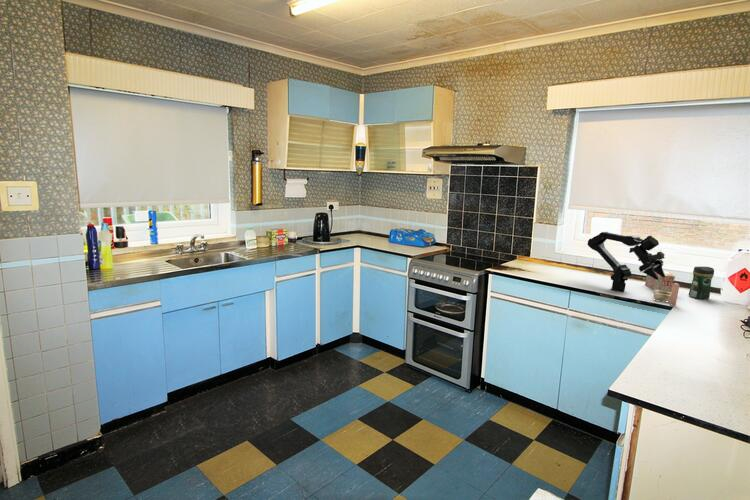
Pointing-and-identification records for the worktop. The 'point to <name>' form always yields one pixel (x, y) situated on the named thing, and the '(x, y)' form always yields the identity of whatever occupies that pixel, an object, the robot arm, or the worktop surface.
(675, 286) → the needle peg
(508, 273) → the worktop surface
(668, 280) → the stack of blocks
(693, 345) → the worktop surface
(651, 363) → the worktop surface
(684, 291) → the worktop surface
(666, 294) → the bead block
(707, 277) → the coffee jar
